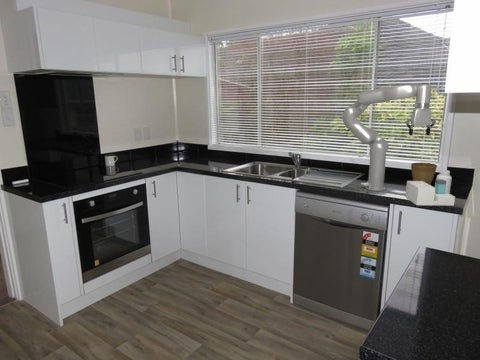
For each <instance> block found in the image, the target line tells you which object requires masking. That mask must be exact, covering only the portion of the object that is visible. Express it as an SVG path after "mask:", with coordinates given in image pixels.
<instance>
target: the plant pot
mask: <svg viewBox="0 0 480 360" xmlns="http://www.w3.org/2000/svg"><path fill="white" fill-rule="evenodd" d="M410 166H411V167H410V168H411V169H410V170H411V175H412V177H411V178H412V181H423V182H425V183H427V184H429V185H431V184H432V182H433V180H434V178H435V177H434V176H435V174H436V170H437V167H438V165H437V164H436V163H433V162H432V163H431V162H412V163H411V164H410Z"/></svg>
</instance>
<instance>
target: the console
mask: <svg viewBox="0 0 480 360" xmlns="http://www.w3.org/2000/svg"><path fill="white" fill-rule="evenodd" d="M405 198H406V199H408V200H409V201H410V202H411V203H413V204H414V205H416V206H455V201H456V200H455V199H456V196H454V195H453V194H451V193H447V192H445V194H436V193H435V186H432V185H431V184H430V185H429V184H427V183H425V182H423V181H413V180H406V189H405Z"/></svg>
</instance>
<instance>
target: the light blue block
mask: <svg viewBox="0 0 480 360" xmlns="http://www.w3.org/2000/svg"><path fill="white" fill-rule="evenodd" d="M434 188H435V193H436V194H445V189H446V181H445V180H443V179H436V178H435V182H434Z"/></svg>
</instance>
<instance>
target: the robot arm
mask: <svg viewBox="0 0 480 360" xmlns="http://www.w3.org/2000/svg"><path fill="white" fill-rule="evenodd" d="M431 95H432V85H431V84H418V85H416V84H403V85H398V86H397V85H396V86H391V87H383V88H381V87H380V88H376V89H371V90H370V89H369V90H365V91H362V92H359V94H358V95H357V100H356V101H355V102H354V103H353V104H352V105H349V106H347V107H345V109H344V111H343V114H342V122H343V124H344V126H345V127H346V129H347V130H349V131H350V132H351V134H353V136H355V138H357V139H358V140H359V141H360V142H361V143H362V144H364V145H365V144H367V145H368V146H369V147H370V148H369V168H368V180H367V181H366V182H360V186H362V187H365V189H366V190H368V191H372V192H383V191H386V189H387V188H386V186H384V185H385V184H384V183H385V171H386V158H387V157H386V156H387V152H388V150H389V146H390V145H389V143H388V141H387V140H386V139H385V137H384V138H383V136H382V135H381V134H379V133H378V132H377V131H376V130H375V129H373V128H368V127H367V126H365V125H364V124H363V123H362V122H361V121H360V120H359V119H358V118H359V117H360V116H361V115H362V114H363V113H364V112H365V111H366V110H367V109H368V108H369V106H371V105H373V104H380V103H386V102H390V101H395V100H400V99H401V100H402V99H410V98H411V99H412V98H415V103H414V104H412V107H414V108H413V109H412V110H413V111H412V114H411V118H409V119H407V120H406V121H405V124H406V127H407V128H408V134H409V135H408V136H411V137H412V136H414V135H413V134H414V128H415V127H417V126H418V127H423V126H424V127H425V126H426V128H425V129H426V130H425V136H430V134H431V129H432V128H433V127H434V126H435V124H436V123H437V121H436V119H435V120H434V119H433V118H432V109H431V108H430V103H431Z"/></svg>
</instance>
